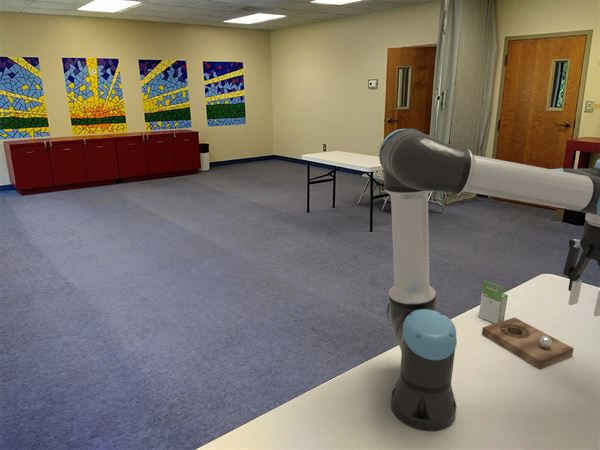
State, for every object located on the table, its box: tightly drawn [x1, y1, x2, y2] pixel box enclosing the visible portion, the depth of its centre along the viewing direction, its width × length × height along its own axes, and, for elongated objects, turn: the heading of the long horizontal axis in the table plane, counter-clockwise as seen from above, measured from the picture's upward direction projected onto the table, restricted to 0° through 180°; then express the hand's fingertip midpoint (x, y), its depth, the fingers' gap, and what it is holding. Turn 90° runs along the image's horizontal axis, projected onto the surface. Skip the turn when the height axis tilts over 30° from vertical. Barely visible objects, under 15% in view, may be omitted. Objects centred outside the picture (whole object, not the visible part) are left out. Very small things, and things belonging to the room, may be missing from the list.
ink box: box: [478, 280, 509, 324], centre depth 150 cm, size 7×4×13 cm, turn 37°
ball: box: [539, 336, 552, 348], centre depth 131 cm, size 3×3×3 cm
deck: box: [481, 317, 574, 370], centre depth 137 cm, size 20×14×2 cm
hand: (585, 308), depth 119 cm, fingers open, 6 cm apart
